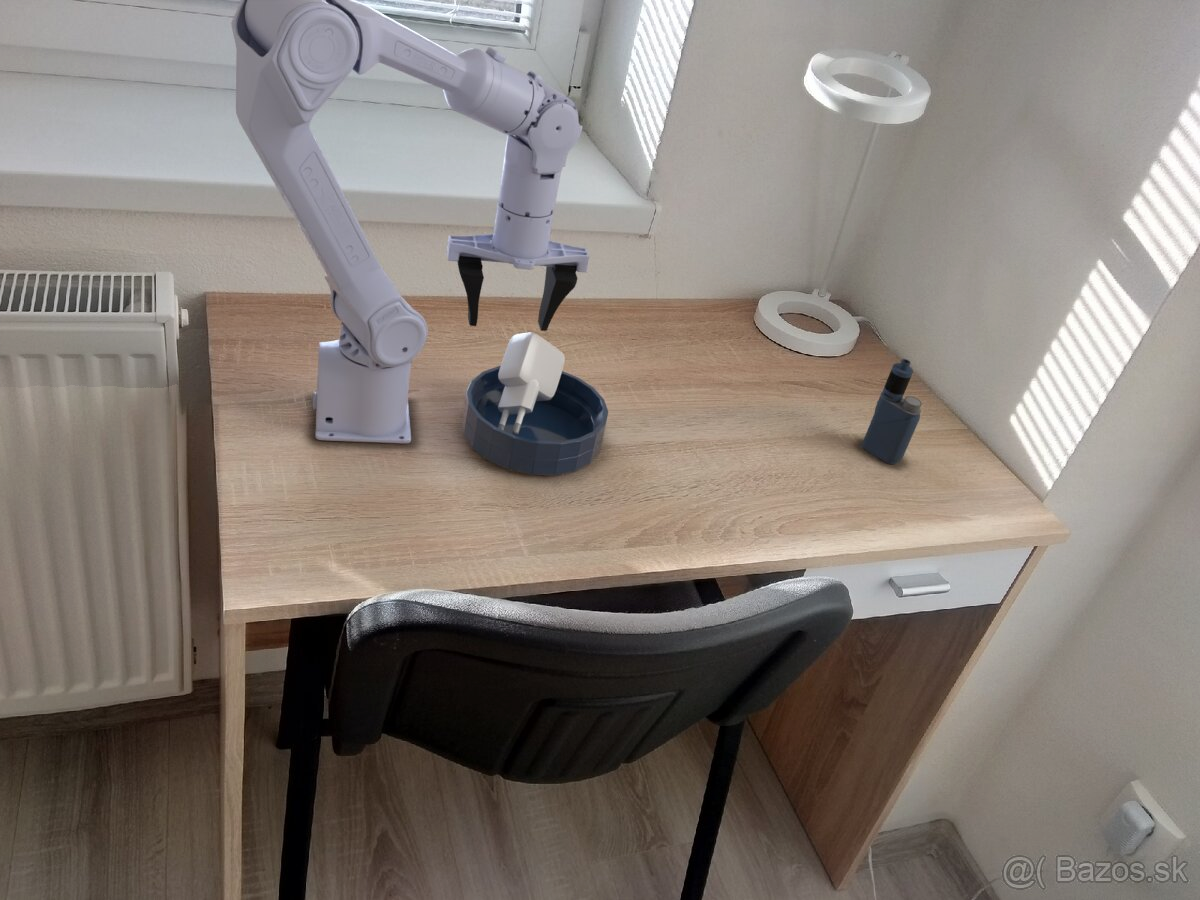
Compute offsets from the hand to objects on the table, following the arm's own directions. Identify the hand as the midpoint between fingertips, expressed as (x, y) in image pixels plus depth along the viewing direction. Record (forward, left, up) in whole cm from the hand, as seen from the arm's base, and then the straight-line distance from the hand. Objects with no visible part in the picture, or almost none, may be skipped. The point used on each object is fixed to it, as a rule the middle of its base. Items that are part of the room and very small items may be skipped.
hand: (507, 323), depth 113 cm
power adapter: (+4, -5, -6) cm, 9 cm away
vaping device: (+45, -8, -10) cm, 47 cm away
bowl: (+3, -8, -9) cm, 12 cm away
